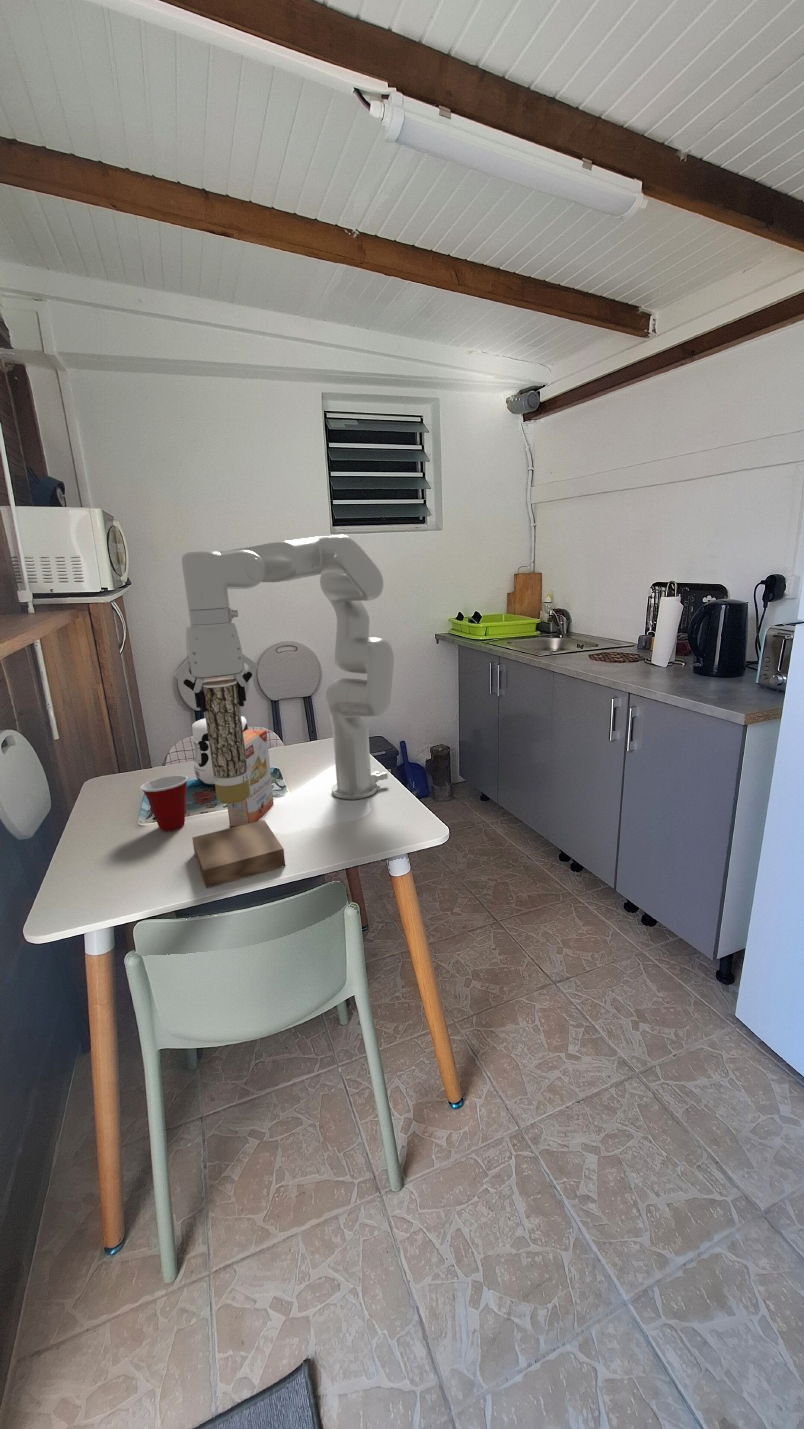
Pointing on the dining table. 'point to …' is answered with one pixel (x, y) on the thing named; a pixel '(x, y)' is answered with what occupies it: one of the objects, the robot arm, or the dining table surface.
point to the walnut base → (237, 853)
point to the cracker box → (254, 781)
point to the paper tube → (226, 739)
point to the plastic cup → (167, 800)
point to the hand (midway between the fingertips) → (222, 707)
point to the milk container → (205, 751)
